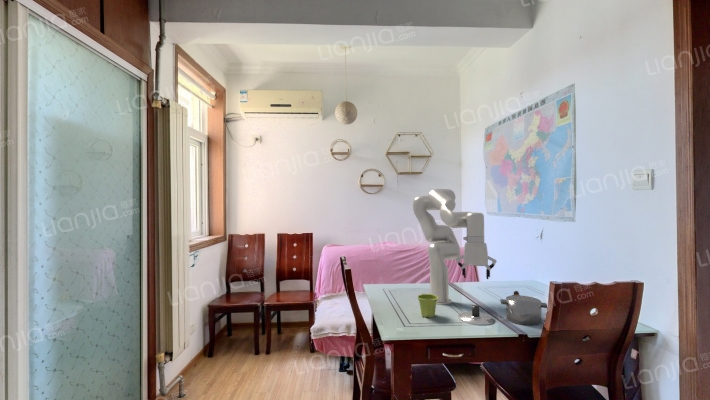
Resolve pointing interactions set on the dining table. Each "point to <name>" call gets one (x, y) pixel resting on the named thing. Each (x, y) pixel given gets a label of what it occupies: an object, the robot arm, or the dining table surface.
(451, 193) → the robot arm
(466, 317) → the lid
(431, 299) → the plant pot
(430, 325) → the dining table surface
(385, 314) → the dining table surface
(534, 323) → the pot
